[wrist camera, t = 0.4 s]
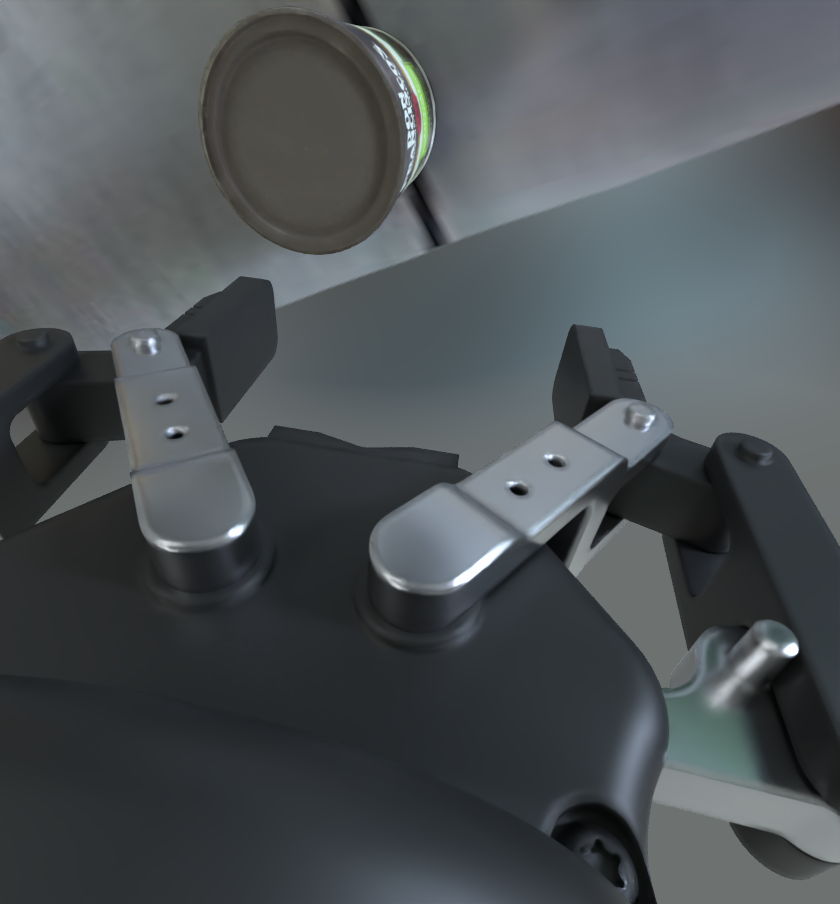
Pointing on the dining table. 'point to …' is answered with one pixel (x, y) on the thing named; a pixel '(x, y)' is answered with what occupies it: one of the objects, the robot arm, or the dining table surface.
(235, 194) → the coffee can
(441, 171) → the dining table surface
